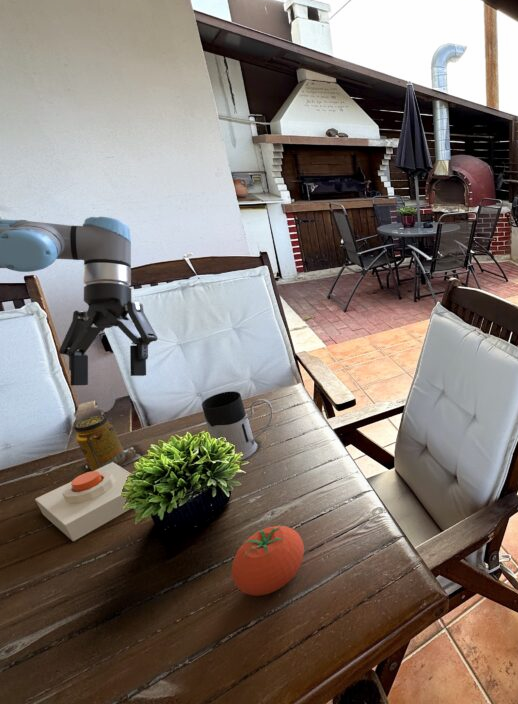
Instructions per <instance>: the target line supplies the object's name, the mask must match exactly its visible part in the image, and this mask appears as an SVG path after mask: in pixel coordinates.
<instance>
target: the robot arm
mask: <svg viewBox="0 0 518 704" xmlns="http://www.w3.org/2000/svg"><path fill="white" fill-rule="evenodd" d="M56 260H73V261H83V278H82V279H83V284H84V286H83V302H84V303H86V304H87V306H88V308H87V310H86V311H84V310H83V311H82V310H74V311H73V313H72V321H71V323H70V325H69V328H68V329H67V332H66V334H65V337H64V338H63V341H62V343H61V345H60V347H59V350H58V354H59V355H65V356H68V370H69V371H70V386H73V387H74V386H88V385H89V356H88V354H87V353H86V352H87V351H88V349H90V347H91V345H92V344H93V343H94V341H95V340H96V338H97V337H98V335H99V334H100V333H101V332H103V331H105V329H110V328H112V327H117V328H118V329H119V330H120V331H122V332H123V334H124V335H125V336H126V337H127V338H128V339H129V341H131V345H129V354H130V361H129V363H130V367H129V368H130V376H131V377H144V376H147V360H148V358H149V345H150V344H151V343H153V342H156V341H158V335H157V334H156V332H155V330H154V328H153V327H152V325H151V323H150V321H149V319H148V317H147V316H146V314H145V312H144V305H143V303H141V302H136V301H135V302H134V301H133V300H132V288H131V287H130V286H131V285H132V241H131V230H130V226H129V225H128V224H127V223H125V222H124V221H122V220H119V219H117V218H112V217H109V216H108V217H107V216H98V217H97V216H90V217H87V218H85V219H84V221H83V223H82V225H71V224H70V225H69V224H60V223H50V222H43V221H31V220H27V219H6V218H3V219H0V269H8V270H10V271H14V272H18V273H19V272H20V273H30V272H36V271H40V270H44V269H46V268H48V267H49V266H51V265H53V263H55V262H56Z"/></svg>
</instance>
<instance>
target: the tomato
mask: <svg viewBox="0 0 518 704" xmlns="http://www.w3.org/2000/svg"><path fill="white" fill-rule="evenodd" d="M258 530H259V531H257V532H255V533H254V534H253V535H251V536H250V537H248V538H247V539H246V540H245V541H244V542H243V543H241V546H240V547H239V548H238V550H237V551H236V553H235V555H234V557H233V560H232V565H231V577H232V581H233V583H234V585H235V586H236V588H237V589H238V590H240V591H241V592H242V593H244V594H247V595H250V596H256V597H257V596H264V595H268V594H271V593H274V592H276V591H277V590H280V589H281V588H283V587H284V586H285V585H287V584H288V583H289V582H290V581H291V580H292V579H293V578H294V577H295V576H296V574H297V573H298V571H299V570H300V567H301V565H302V563H303V559H304V556H305V555H304V554H305V547H304V542H303V539H302V537H301V535H300V534H299V533H298V532H297V531H296V530H295V529H293V528H291V527H289V526H285V525H274V526H269V527H266V528H264V529H258Z"/></svg>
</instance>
